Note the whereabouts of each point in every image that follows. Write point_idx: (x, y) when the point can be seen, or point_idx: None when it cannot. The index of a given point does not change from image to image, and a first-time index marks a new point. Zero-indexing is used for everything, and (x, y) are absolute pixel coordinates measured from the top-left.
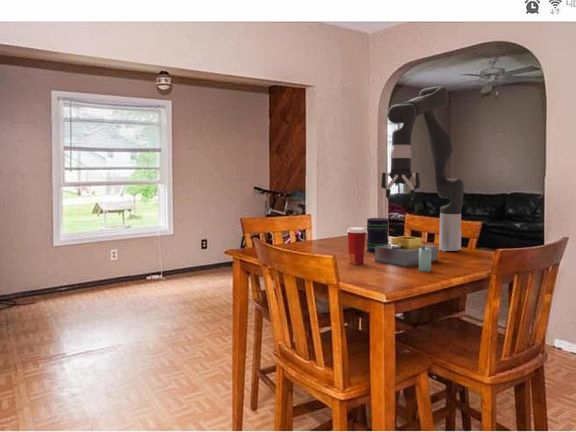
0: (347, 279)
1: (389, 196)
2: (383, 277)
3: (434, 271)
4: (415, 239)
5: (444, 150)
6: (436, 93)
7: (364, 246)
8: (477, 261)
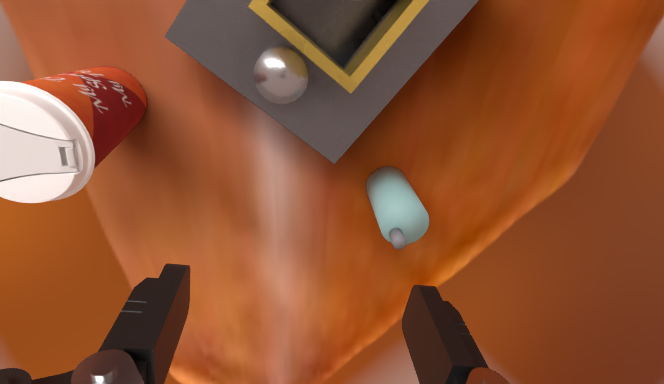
0: None
1: (180, 334)
2: (257, 296)
3: None
4: (392, 42)
5: None
6: None
7: (121, 123)
8: None
